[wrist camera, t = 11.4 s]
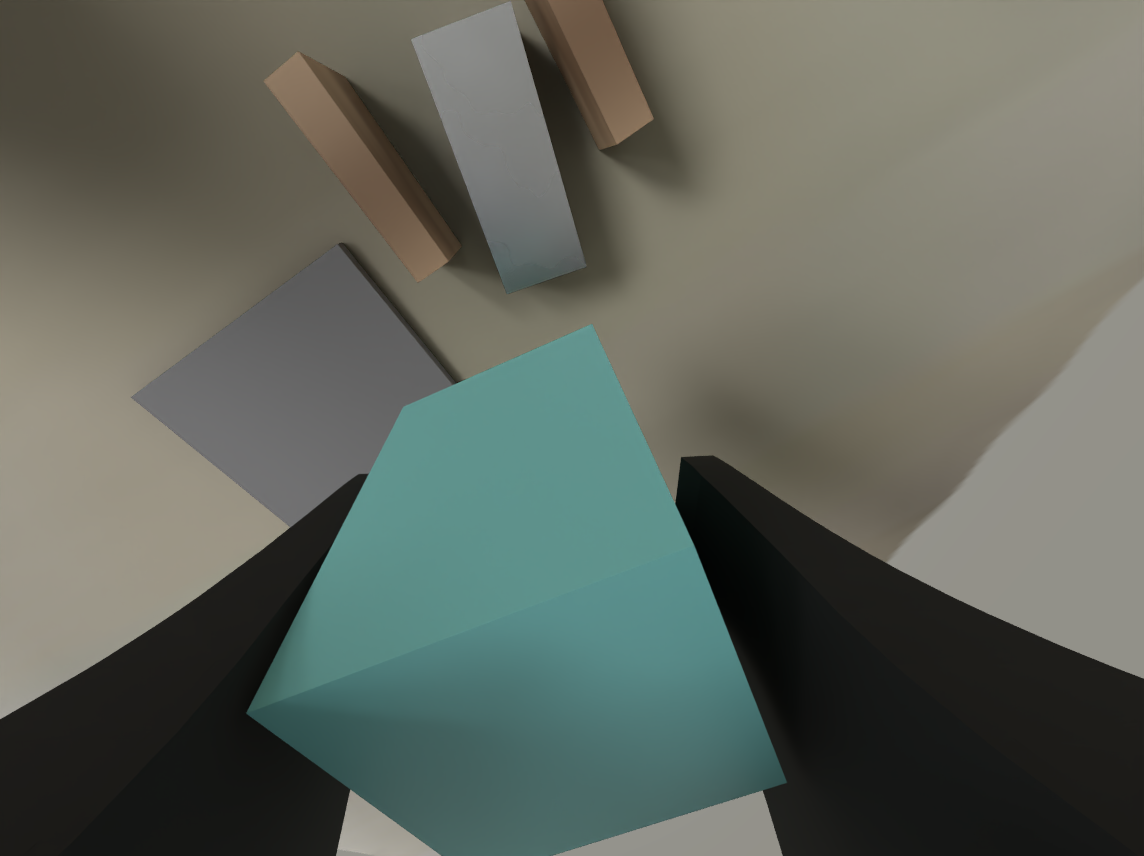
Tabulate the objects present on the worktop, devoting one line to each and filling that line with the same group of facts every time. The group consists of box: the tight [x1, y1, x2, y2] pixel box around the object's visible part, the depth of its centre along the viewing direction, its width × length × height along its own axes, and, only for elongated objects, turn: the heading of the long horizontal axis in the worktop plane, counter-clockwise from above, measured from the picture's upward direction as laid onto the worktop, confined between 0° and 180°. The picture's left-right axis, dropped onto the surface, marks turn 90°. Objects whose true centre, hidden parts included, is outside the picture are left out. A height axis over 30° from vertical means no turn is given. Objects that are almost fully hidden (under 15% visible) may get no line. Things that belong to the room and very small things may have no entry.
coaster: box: [131, 243, 456, 527], centre depth 17 cm, size 9×9×1 cm
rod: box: [411, 1, 587, 294], centre depth 13 cm, size 6×2×2 cm, turn 18°
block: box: [246, 324, 787, 856], centre depth 7 cm, size 4×4×6 cm
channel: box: [264, 0, 654, 283], centre depth 12 cm, size 5×7×3 cm
